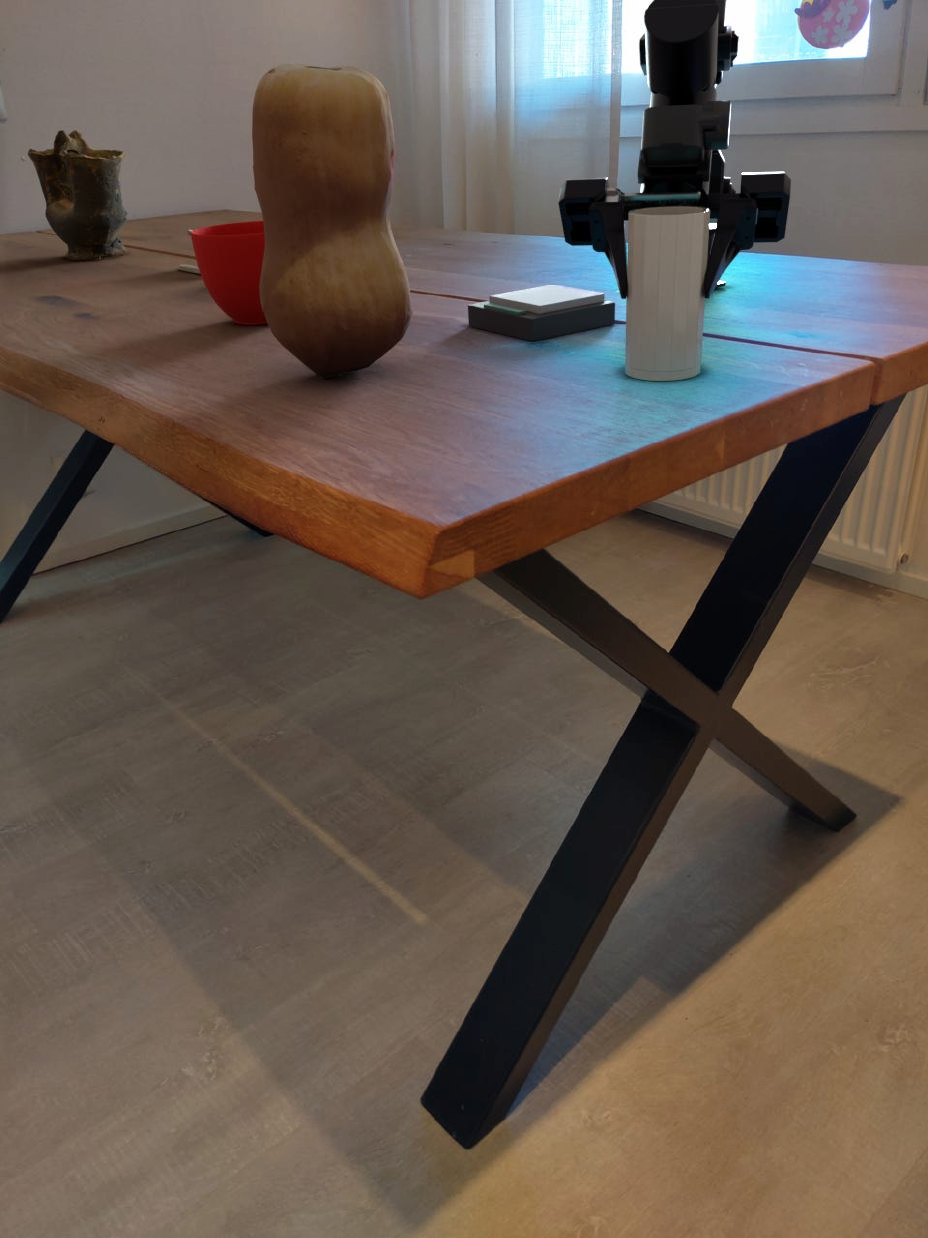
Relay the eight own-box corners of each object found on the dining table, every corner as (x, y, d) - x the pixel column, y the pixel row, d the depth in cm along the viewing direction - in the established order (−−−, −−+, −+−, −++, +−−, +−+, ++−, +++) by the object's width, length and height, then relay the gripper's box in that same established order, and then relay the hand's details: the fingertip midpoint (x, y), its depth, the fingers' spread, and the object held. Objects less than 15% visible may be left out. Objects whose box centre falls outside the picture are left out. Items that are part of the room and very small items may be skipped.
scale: (548, 310, 113) (548, 282, 112) (614, 323, 105) (615, 294, 104) (468, 325, 108) (467, 296, 106) (532, 341, 100) (531, 310, 98)
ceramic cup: (258, 301, 128) (246, 216, 123) (340, 315, 117) (331, 222, 112) (167, 319, 120) (150, 229, 115) (246, 336, 109) (232, 238, 104)
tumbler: (662, 358, 91) (669, 204, 85) (716, 371, 86) (726, 208, 80) (609, 371, 88) (612, 212, 82) (662, 385, 83) (669, 217, 77)
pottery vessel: (38, 254, 181) (9, 132, 171) (96, 246, 187) (71, 127, 177) (92, 266, 163) (63, 130, 154) (154, 257, 169) (130, 126, 160)
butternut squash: (431, 379, 88) (410, 53, 77) (279, 398, 85) (232, 62, 74) (396, 347, 100) (372, 61, 89) (261, 363, 97) (218, 69, 86)
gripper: (561, 71, 82) (538, 233, 78) (802, 57, 77) (792, 228, 73) (575, 169, 92) (556, 317, 88) (788, 161, 88) (779, 317, 83)
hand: (664, 295), depth 83 cm, fingers closed on tumbler, 6 cm apart
